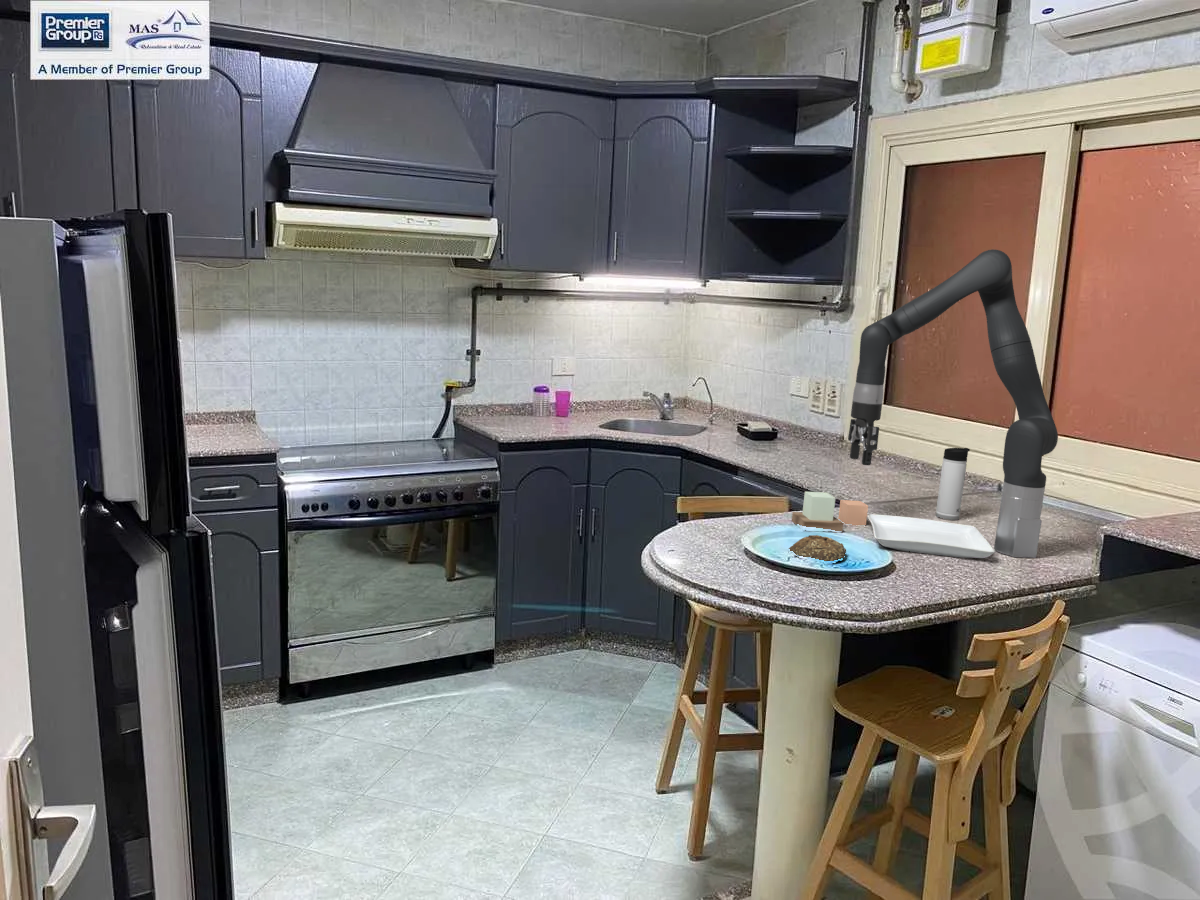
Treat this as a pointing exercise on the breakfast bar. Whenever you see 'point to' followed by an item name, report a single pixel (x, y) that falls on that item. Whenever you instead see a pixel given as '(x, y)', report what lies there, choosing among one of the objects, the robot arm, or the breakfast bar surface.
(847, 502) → the terracotta block
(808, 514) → the sage block
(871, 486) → the breakfast bar surface
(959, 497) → the travel mug
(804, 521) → the walnut slab
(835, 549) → the bread roll
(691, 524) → the breakfast bar surface
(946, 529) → the square plate
